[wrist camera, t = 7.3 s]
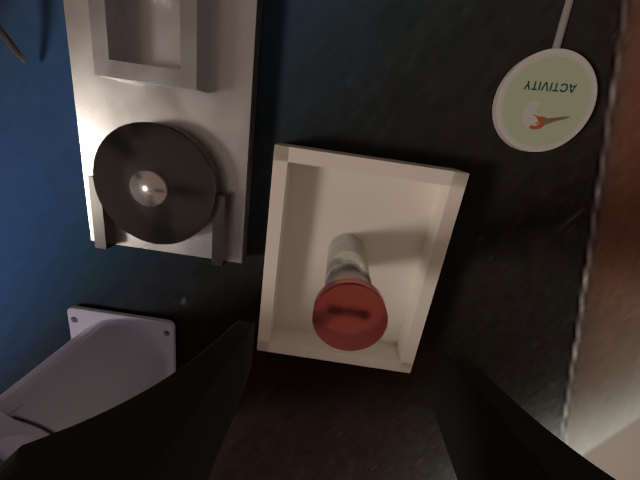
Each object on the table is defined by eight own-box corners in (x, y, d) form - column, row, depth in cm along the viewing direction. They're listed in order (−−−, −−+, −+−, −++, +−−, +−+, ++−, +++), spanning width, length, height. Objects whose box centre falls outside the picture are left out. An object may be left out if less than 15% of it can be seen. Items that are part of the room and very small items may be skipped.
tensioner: (246, 256, 22) (232, 275, 19) (103, 234, 22) (69, 250, 19) (264, -26, 16) (249, -58, 13) (74, -54, 16) (19, -92, 13)
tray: (403, 350, 24) (410, 373, 21) (264, 329, 24) (256, 350, 21) (454, 168, 19) (469, 173, 17) (281, 142, 19) (274, 144, 17)
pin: (368, 274, 21) (384, 353, 14) (321, 271, 21) (311, 348, 14) (372, 228, 20) (391, 288, 13) (322, 226, 20) (312, 284, 13)
